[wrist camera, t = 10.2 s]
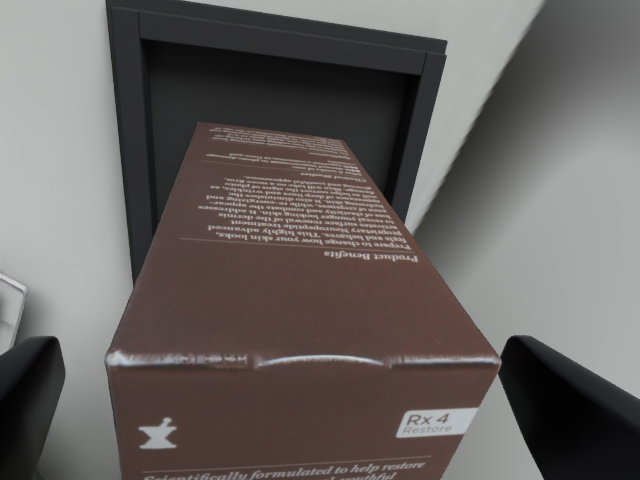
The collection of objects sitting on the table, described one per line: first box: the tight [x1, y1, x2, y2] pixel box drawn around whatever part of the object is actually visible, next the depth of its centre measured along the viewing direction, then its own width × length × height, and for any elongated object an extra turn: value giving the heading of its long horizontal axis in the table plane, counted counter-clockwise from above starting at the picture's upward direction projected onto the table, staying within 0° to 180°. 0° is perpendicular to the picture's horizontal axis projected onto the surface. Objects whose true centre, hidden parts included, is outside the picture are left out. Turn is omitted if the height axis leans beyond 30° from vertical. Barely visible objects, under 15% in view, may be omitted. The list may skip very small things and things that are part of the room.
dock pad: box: [106, 0, 447, 288], centre depth 17 cm, size 12×12×2 cm
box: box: [105, 122, 502, 480], centre depth 12 cm, size 6×4×12 cm
